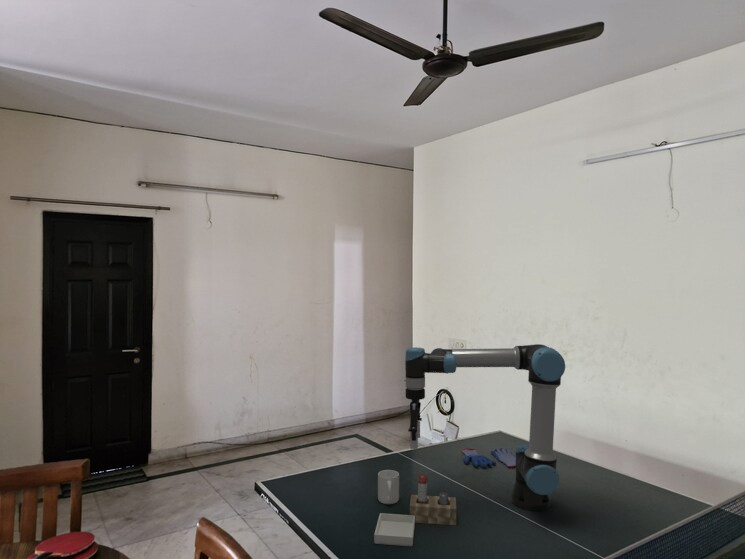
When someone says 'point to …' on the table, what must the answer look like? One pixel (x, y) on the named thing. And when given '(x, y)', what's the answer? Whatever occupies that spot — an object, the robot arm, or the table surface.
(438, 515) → the block
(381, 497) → the mug
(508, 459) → the pair of gloves
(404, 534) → the tray
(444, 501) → the short pin
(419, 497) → the glass vial with cap
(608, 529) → the table surface
